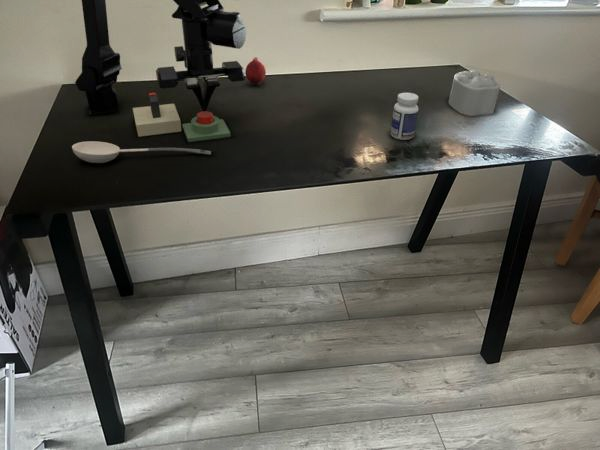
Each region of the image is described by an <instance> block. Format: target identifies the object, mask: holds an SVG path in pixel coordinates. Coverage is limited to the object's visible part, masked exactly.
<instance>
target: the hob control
mask: <svg viewBox="0 0 600 450" xmlns="http://www.w3.org/2000/svg"><path fill="white" fill-rule="evenodd" d="M159 108H160V114H161V117H159V118H153V116H152V112H151V107H150V105H149V106H139V107H132V112H133V118H134V123H135V128H136V132H137V137H138V138H140V137H147V136H155V135H162V134H171V133H179V132H182V130H183V129H182V123H181V122H182V121H181V118H180V116H179V113H178V110H177V107H176V105H175V103H166V104H159Z"/></svg>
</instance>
